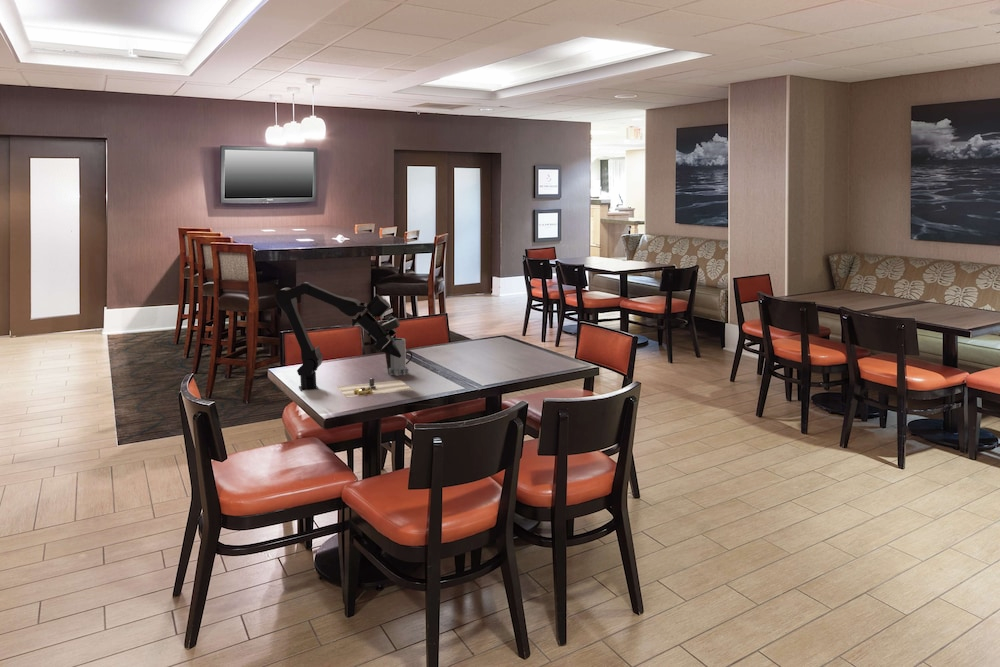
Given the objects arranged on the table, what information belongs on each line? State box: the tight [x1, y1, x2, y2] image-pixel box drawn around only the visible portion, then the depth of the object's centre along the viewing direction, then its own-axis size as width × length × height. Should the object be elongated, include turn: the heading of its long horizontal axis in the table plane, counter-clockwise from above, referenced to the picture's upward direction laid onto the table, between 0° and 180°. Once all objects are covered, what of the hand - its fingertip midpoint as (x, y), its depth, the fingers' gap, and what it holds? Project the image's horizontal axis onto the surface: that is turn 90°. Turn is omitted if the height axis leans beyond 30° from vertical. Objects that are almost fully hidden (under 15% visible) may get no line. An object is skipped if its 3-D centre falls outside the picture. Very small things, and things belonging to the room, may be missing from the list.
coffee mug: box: [384, 350, 413, 376], centre depth 304 cm, size 12×9×10 cm
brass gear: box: [354, 387, 372, 396], centre depth 275 cm, size 7×7×2 cm
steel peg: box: [368, 377, 376, 389], centre depth 282 cm, size 3×3×4 cm
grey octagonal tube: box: [388, 337, 409, 377], centre depth 280 cm, size 7×7×13 cm
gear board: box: [337, 379, 413, 398], centre depth 281 cm, size 16×25×1 cm, turn 114°
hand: (401, 355), depth 279 cm, fingers closed on grey octagonal tube, 5 cm apart
